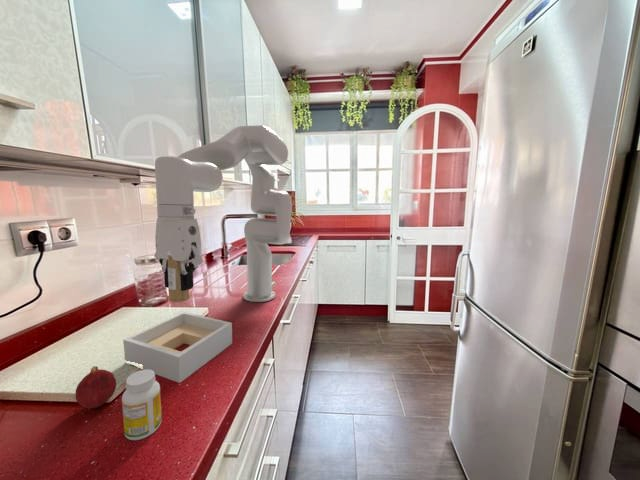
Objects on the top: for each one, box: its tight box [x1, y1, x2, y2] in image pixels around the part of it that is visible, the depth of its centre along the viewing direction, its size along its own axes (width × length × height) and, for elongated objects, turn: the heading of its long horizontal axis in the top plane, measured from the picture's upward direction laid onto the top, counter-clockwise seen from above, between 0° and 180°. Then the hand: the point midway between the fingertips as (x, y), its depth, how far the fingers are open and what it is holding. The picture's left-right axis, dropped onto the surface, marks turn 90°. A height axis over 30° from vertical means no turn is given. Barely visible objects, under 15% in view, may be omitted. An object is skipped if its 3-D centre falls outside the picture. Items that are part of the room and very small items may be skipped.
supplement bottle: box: [121, 369, 163, 441], centre depth 45 cm, size 5×5×10 cm
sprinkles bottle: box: [167, 251, 190, 304], centre depth 64 cm, size 5×5×14 cm
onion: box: [75, 365, 117, 409], centre depth 49 cm, size 6×6×8 cm
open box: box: [122, 311, 233, 384], centre depth 67 cm, size 17×17×6 cm
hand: (179, 286), depth 64 cm, fingers closed on sprinkles bottle, 4 cm apart
